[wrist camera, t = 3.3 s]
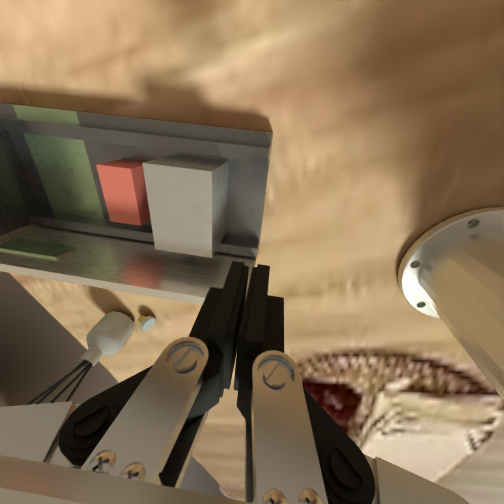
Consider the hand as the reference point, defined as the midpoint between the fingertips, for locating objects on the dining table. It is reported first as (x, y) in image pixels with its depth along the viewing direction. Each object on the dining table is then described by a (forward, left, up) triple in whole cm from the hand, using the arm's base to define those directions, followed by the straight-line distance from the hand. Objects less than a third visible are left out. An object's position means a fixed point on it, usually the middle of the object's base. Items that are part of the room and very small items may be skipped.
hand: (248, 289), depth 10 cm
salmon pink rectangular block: (+13, 0, -13) cm, 18 cm away
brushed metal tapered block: (+7, 0, -12) cm, 14 cm away
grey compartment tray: (+13, 0, -14) cm, 19 cm away
